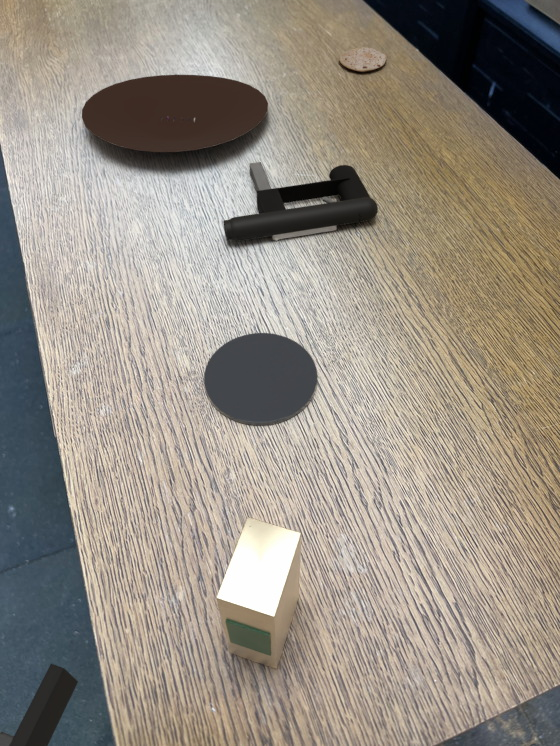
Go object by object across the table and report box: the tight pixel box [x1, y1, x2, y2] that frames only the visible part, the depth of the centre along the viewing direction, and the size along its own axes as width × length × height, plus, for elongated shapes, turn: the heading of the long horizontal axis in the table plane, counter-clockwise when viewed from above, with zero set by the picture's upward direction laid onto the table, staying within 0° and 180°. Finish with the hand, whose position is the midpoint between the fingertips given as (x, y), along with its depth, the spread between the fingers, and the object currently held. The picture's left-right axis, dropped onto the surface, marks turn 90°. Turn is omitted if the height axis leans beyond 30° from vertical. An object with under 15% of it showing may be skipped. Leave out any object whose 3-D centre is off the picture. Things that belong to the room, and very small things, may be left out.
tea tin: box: [215, 516, 303, 670], centre depth 48 cm, size 6×4×13 cm, turn 162°
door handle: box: [222, 161, 379, 242], centre depth 86 cm, size 3×20×16 cm
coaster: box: [203, 332, 318, 427], centre depth 69 cm, size 12×12×1 cm
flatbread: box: [338, 46, 388, 73], centre depth 110 cm, size 8×8×1 cm
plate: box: [81, 74, 269, 153], centre depth 99 cm, size 28×28×4 cm
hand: (186, 716), depth 32 cm, fingers open, 13 cm apart
